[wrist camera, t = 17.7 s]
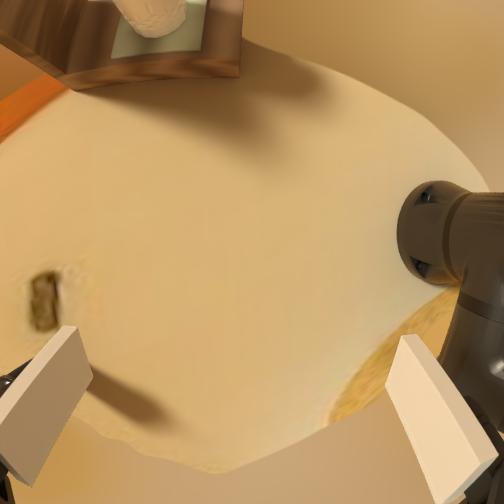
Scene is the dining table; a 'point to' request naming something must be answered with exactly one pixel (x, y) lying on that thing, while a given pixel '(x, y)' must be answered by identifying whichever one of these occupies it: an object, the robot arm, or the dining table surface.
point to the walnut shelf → (121, 42)
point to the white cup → (153, 15)
